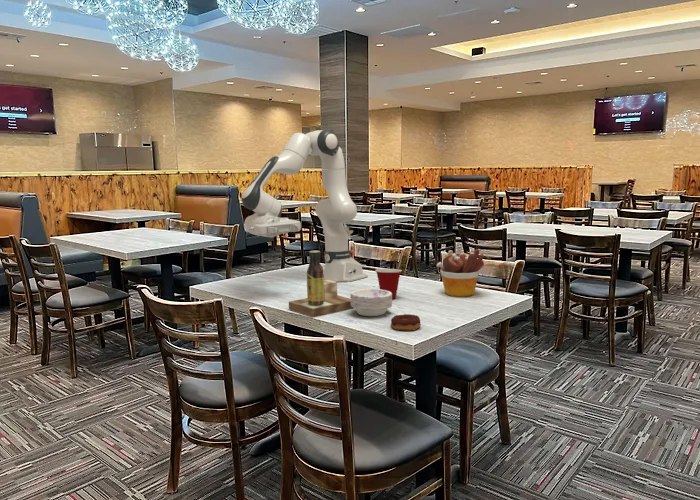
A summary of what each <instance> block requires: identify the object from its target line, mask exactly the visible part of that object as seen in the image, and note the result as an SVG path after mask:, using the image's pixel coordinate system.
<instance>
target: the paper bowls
mask: <svg viewBox="0 0 700 500" xmlns="http://www.w3.org/2000/svg"><path fill="white" fill-rule="evenodd" d="M349 296H350V301H351V306H352V307H354V308H353V309H354V310H355V311H356V312H357V314H358V315H360V316H363V317H379V316H383V315H385V314H386V312H387V310H388V309H390V308H392V306H393V299H392V293H391V292H390V291H387V290H381V289H380V288H362V289H356V290H353V291H351V292H350V295H349Z"/></svg>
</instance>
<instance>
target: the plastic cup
mask: <svg viewBox="0 0 700 500" xmlns="http://www.w3.org/2000/svg"><path fill="white" fill-rule="evenodd" d="M374 271H375V273H376V275H377V281H378V285H379V286H378V287H379V289H381V290H387V291H390V292H391V293H392V300H395V299H396V297H397V292H398V288H399V281H400V277H401V274H402V271H403V270H402V269H399V268H398V269H397V268H377V269H375V270H374Z"/></svg>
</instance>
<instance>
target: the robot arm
mask: <svg viewBox="0 0 700 500" xmlns="http://www.w3.org/2000/svg"><path fill="white" fill-rule="evenodd" d="M339 142H340V141H339V138H338V136H337V134H336V133H335V131H333V130H331V129H330V130H329V129H323V130H321V129H317V130H314V131H310V132H304V133H303V132H295V133H292V135H291V136H290V138H289V139H288V140H287V142H286V143H285V145H284V147H282V150H281V152H280V154H278V155H276V156H275V155H274V156H272V157H270V159H268V161H267V162H266V163H265V164H264V165H263V167H262V168H261V169H260V171H259V172H258V173H257V175H256V176H255V177H254V179H253V180H252V182H251V183H250V184H249V185H248V186H247V187H246V188H245V189H244V190H243V192H242V193H241V198H240V199H241V202H242V206H243V207H244V208H246V209H248V210H249V211H253V212H254V213H253V214H251V215H248V216H247V217H246V218H245V219H244V227H245V230H246V231H247V232H248V233H249V234H252V235H254V236H259V237H260V236H261V237H266V238H275V237H277V236H279V235H284V234H288V233H290V232H295V231H296V232H298V231H299V232H300V231H301V230H302V222H301V221H300V220H295V219H292V218H291V219H289V217H281V216H282V212H283V206H282V205H283V204H282V203H281V201H279V200H278V199H277V198H275V197H273V196H272V195H270V194H269V193H268V192H266V191H264V189H263V188H264V186H265V185H266V183H268V180H269V179H270V178H271V177H272V176H273V174H275V173H278V174H282V175H296V174H298V173H299V172H301V170H302V168H303V166H304V165H305V162H306V160H307V159H308V156H319V158H320V160H321V179H322V187H323V189H324V190H325V191H326V193H327V196H328V198H327V197H326V198H324V199H321V200H319V201H318V202H317V203H316V204H315V209H314V210H315V214H316V216H317V217H318V218H319V220H320V223H321V226H322V229H323V231H324V233H323V234H324V245H325V246H324V248H325V250H324V261H325V262H324V270H323V275H324V280H330V281H334V282H337V283H338V282H344V283H346V282H353V281H357V280H361V279H364V278H368V274H367V273H364V271H363V267H362V264H361V263H360V262H358V261H357V260H356V259H354V258H353V257H352V255H355V254H356V250H352V249H351V250H350V249H349V239H348V234H347V232H346V231H345V229H344V224H343V225H342V223H347V222H351V221H353V220H354V219H355V218H356V216H357V213H358V209H357V205H356V204H355V202H354V201H353V200H352V198H351V196H350V194H349V190H348V186H347V180H346V179H347V177H346V163H345V158H344V154H343V153H344V152H343V150H342V148H341V147H340V143H339Z"/></svg>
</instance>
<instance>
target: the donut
mask: <svg viewBox="0 0 700 500" xmlns="http://www.w3.org/2000/svg"><path fill="white" fill-rule="evenodd" d="M421 325H422V324H421V318H420V317H419V316H418V315H417V314H416V315H415V314H405V313H404V314H399V315H398V314H397V315H394V316H393V317H391V319H390V326H391V328H392V329H395V330H397V331H403V332H404V331H405V332H406V331H407V332H408V331H409V332H410V331H415V330H417V329H419V328H420V327H421Z"/></svg>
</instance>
